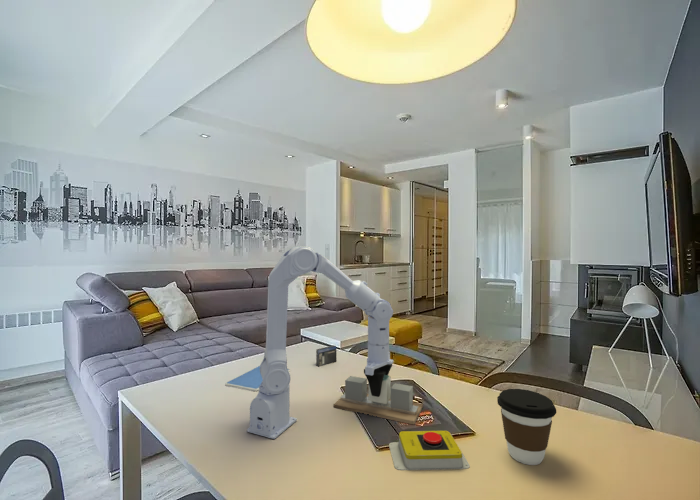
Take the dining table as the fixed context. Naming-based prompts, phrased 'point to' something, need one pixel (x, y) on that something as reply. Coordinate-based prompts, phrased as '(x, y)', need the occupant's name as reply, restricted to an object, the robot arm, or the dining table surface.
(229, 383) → the tablet computer
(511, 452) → the coffee cup
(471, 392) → the dining table surface
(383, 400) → the block
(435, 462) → the emergency button
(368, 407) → the board
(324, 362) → the mini dv tape
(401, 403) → the block
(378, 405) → the rail
